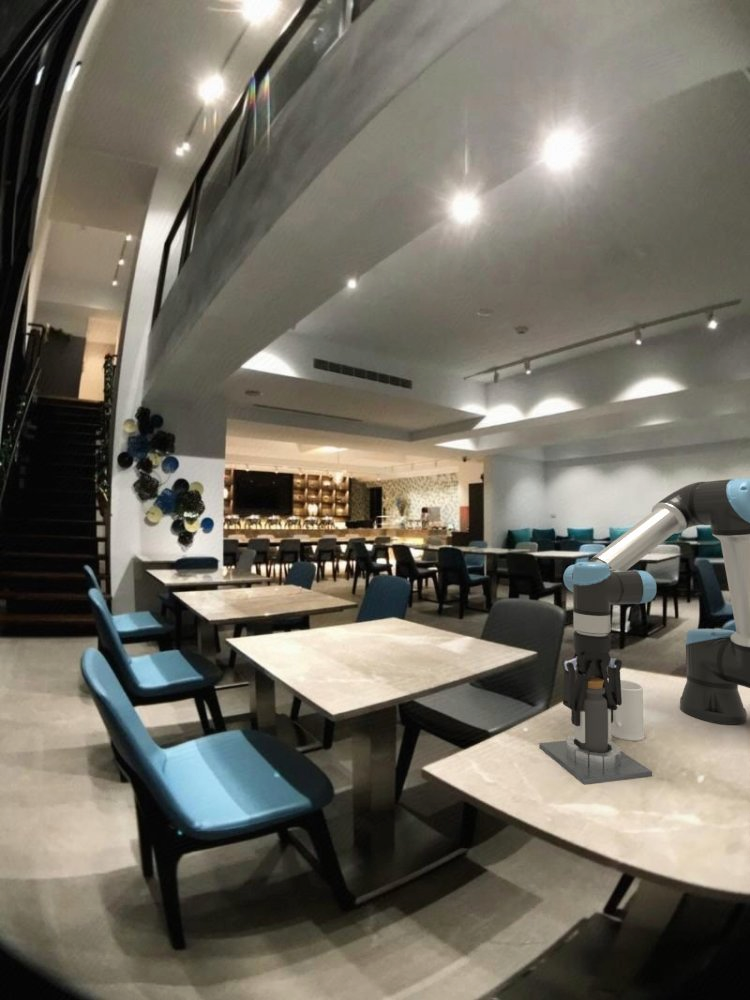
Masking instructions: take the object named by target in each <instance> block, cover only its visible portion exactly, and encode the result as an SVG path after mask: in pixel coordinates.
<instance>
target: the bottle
mask: <svg viewBox="0 0 750 1000" xmlns="http://www.w3.org/2000/svg"><path fill="white" fill-rule="evenodd" d="M603 682H604V680H603V679H601V678H599V677H596V676H592V677H591V680H590V681H588V686H587V690H586V694H585V698H584V702H583V706H582V711H584V712H585V743H581V742H580V741H579V746H580V748H582V749H583V750H586V751H589V752H595V753H606V752H607V750H608V726H607V700H606V699H605V698H604V697H603V696H602V694H604V693H605V688H604V687H603ZM602 687H603V688H602Z"/></svg>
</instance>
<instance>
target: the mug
mask: <svg viewBox="0 0 750 1000" xmlns="http://www.w3.org/2000/svg"><path fill="white" fill-rule="evenodd" d="M620 680H621V698H622V704H621V705H616V706H617V710H613V723H611V737H614V738H617V739H619V740H624V741H630V742H636V741H637V742H638V741H639V742H640V741H642V740H644V739H645V738H646V737H645V736H646V735H645V731H644V688H643V686H642V685H641V684H639V683H637V682H633V681H631V680H625V679H620ZM608 682H609V681H608Z"/></svg>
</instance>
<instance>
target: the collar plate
mask: <svg viewBox="0 0 750 1000" xmlns="http://www.w3.org/2000/svg"><path fill="white" fill-rule="evenodd" d="M538 748H539V749H541V750H542V751H543V752H545V754H547V755H548V756H549V757H550V758H551V759H552V760H554V761H555V762H556V763H558V764H559V765H560V766H561V767H563V769H565V770H566V771H567V772H569V773H570V774H571V775H572V776H573V777H575V778H576V779H577V780H578V781H579V782H581V783H582V784H583V785H591V784H598V783H599V784H600V783H607V782H616V781H623V780H632V779H641V778H648V777H653V771H652V770H651V769H649V768H648V767H647V766H644V765H643V764H642V763H640V762H638V761H637V760H635V759H634V758H632V757H631V756H629V755H628V754H627V753H624V752H623V751H621V750H620V747H619V745H618V744H617V743H615V742H613V741H612V740H608V750H607V752H606V753H595V752H589V751H586V750H583V749H582V748H580V746H579V741H578V740H577V739H576V738H574V734H571V735H569V736H567V737H566V738H565V740H556V741H548V742H546V741H545V742H539V746H538Z"/></svg>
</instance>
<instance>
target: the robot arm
mask: <svg viewBox="0 0 750 1000" xmlns="http://www.w3.org/2000/svg"><path fill="white" fill-rule="evenodd" d="M697 526H710V529H711V535H712V536H713V537H714V538H717V540H719V541H720V545H721V546H720V547H721V553H722V556H723V563H724V568H725V574H726V579H727V580H726V581H727V584H728V592H729V597H730V602H731V608H732V613H733V618H734V619H733V621H734V625H735V626H734V627H735V630H731V629H721V628H694V629H689V630H688V631H687V633H686V639H685V643H684V644H685V663H686V666H685V667H686V683H685V685H684V688H683V691H682V694H681V697H680V699H679V708H680V710H681V711H682V712H683V713H685V714H687V715H689V716H691V717H694V718H696V719H699V720H703V721H706V722H711V723H716V724H723V725H724V724H725V725H743V724H745V723H746V722H747V719H748V718H747V717H748V716H747V714H748V713H747V710H746V708H745V707H744V704H743V701H742V697H741V695H740V692H739V687H738V685H739V686H741V687H745V688H749V689H750V477H749V478H742V477H738V478H737V477H736V478H730V479H719V480H711V481H709V480H708V481H697V482H693V483H690V484H687V485H685V486H683V487H681V488H678V489H677V490H675V491H674V492H671V493H670V494H668V495H667V496H665V497H664V498H662V499H661V500H660V501H659V502H657V503H656V504H655V505H653V506H652V509H651V513H649V514H648V515H647V516H645V517H643V519H641V520H640V521H639V522H637V523H635V525H633V526H632V527H631V528H630V529H628V530H627V531H625V532H624V533H622V535H620V536H619V537H618V538H616V539H615V540H613V542H611V543H609V545H608V546H607V545H606V547H605V548H603V549H602V550H600V551H599V552H597V553H596V554H595V555H594V556H593V557H591V558H590V559H588V560H587V561H579V562H576V563H575V564H571V565H569V566H568V567H567V568H566V569H565V570H564V573H563V575H562V576H563V577H562V578H563V583H564V586H565V587H566V588H567V589H568V590H569V591H570V592H572V594H573V595H572V600H573V601H572V602H573V605H572V606H573V611H572V613H573V629H574V630H575V631H574V632H573V635H572V636H573V649H574V655H573V657H572V659H570V660H566V659H564V660H562V661H561V664H562V668H563V687H562V690H563V691H562V704H563V705H564V706H565V707H566V708H568V709H569V710H571V720H570V721H571V724H572V725H573V730H574V732H573V733H574V734H573V735H574V738H576V739H577V740H578V741H580V742H581V743H585V712H584V711H582V706H583V702H584V698H585V694H586V690H587V686H588V681H590V680H591V677H592V676H596V677H599V678H601V679H603V680H604V682H603V687H604V688H605V693H604V694H602V696H603V697H604V698H605V699H606V700H607V726H608V740H610V741H612V735H611V723H613V710H617V706H616V705H621V704H622V698H621V680H622V679H621V669H622V665H623V663H622V660H620V659H618V658H615V657H613V656H610V652H611V649H612V646H611V645H612V644H611V639H612V638H611V635H610V633H611V632H612V631H611V628H612V627H611V626H612V625H611V606H612V605H630V604H631V605H633V604H634V605H639V604H645V603H649V602H652V600H654V598H655V597H656V594H657V588H658V587H657V582H656V580H655V578H654V577H653V575H651V574H650V573H649V572H648V571H645V570H637V569H632V570H629V569H630V568H631V567H633V566H634V565H636V564H637V563H638V562H639V561H641V560H642V559H643V558H644V557H646V556H647V555H648V554H649V553H650V552H652V551H654V550H655V549H656V548H657V547H658V546H659V545H661V544H662V543H663V542H665V541H666V540H667V539H669V537H671V536H672V535H674V534H681V533H683V532H684V531H685V530H687V529H688V528H691V527H697ZM608 681H609V682H608ZM603 687H602V688H603Z"/></svg>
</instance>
